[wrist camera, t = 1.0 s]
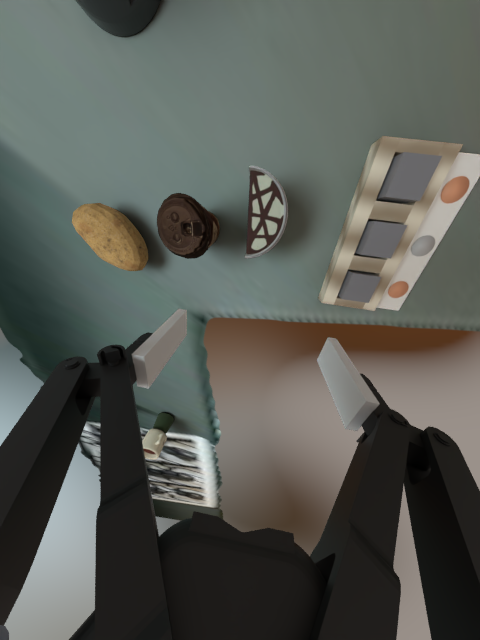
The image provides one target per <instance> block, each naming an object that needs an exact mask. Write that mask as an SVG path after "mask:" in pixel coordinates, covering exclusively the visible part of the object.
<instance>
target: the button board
mask: <svg viewBox="0 0 480 640" xmlns="http://www.w3.org/2000/svg"><path fill="white" fill-rule="evenodd" d="M462 146H463V144H454V143H445V142H435V141H425V140H416V139H406V138H396V137H387V136H382V137H381V138H380V139H379V140H377V141H376V142H375V143H373V144H372V145H371V148H370V151H369V153H368V156H367V159H366V162H365V165H364V168H363V171H362V173H361V176H360V179H359V182H358V185H357V188H356V191H355V194H354V196H353V199H352V202H351V205H350V208H349V211H348V214H347V216H346V219H345V222H344V225H343V228H342V231H341V234H340V237H339V239H338V242H337V245H336V248H335V251H334V254H333V257H332V259H331V262H330V265H329V268H328V271H327V274H326V277H325V279H324V282H323V285H322V288H321V291H320V294H319V297H318V299H319V300H320V301H321V302H322V303H326V304H333V305H339V306H346V307H353V308H360V309H366V310H373V311H375V309H376V307H377V305H378V303H379V301H380V300H381V298H382V296H383V294H384V292H385V290H386V288H387V286H388V285H389V283H390V281H391V279H392V277H393V275H394V273H395V271H396V270H397V268H398V266H399V264H400V262H401V260H402V258H403V256H404V255H405V253H406V251H407V249H408V247H409V245H410V243H411V241H412V240H413V238H414V236H415V234H416V232H417V230H418V228H419V226H420V225H421V223H422V221H423V219H424V217H425V215H426V213H427V211H428V209H429V208H430V206H431V204H432V202H433V200H434V198H435V196H436V194H437V193H438V191H439V189H440V187H441V185H442V183H443V181H444V179H445V178H446V176H447V174H448V172H449V170H450V168H451V166H452V164H453V163H454V161H455V159H456V157H457V155H458V153H459V151H460V149H461V148H462ZM403 152H409V153H418V154H428V155H437V156H442V158H441V160H440V162H439V164H438V166H437V168H436V170H435V172H434V174H433V176H432V178H431V180H430V182H429V184H428V186H427V188H426V190H425V192H424V194H423V196H422V198H421V200H420V201H416V202H410V203H402V204H398V203H389V202H381V201H376V199H377V196H378V194H379V191H380V189H381V186H382V184H383V181H384V179H385V176H386V174H387V171H388V169H389V166H390V164H391V161H392V159H393V158H394V157H395V156H397V155H399V154H401V153H403ZM368 220H370V221H378V222H386V223H394V224H402V225H408V226H407V227H406V229H405V231H404V233H403V235H402V237H401V239H400V241H399V243H398V245H397V247H396V249H395V251H394V253H393V255H392V257H391V259H390V258H382V257H369V256H362V255H355V254H354V253H355V251H356V248H357V246H358V243H359V241H360V238H361V236H362V233H363V231H364V228H365V226H366V223H367V221H368ZM348 269H351V270H358V271H366V272H370V273H372V274H375V275H377V276H380V277H381V279H380V281H379V283H378V285H377V287H376V289H375V291H374V293H373V295H372V297H371V299H370V301H369V303H365V302H358V301H351V300H344V299H341V298H340V297H339V296H338V293H339V291H340V288H341V286H342V283H343V281H344V278H345V276H346V273H347V271H348Z"/></svg>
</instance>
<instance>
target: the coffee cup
mask: <svg viewBox="0 0 480 640" xmlns="http://www.w3.org/2000/svg"><path fill="white" fill-rule="evenodd" d="M157 226H158V232H159V236H160V238H161V240H162V242H163V243H164V245H165V246H166V247H167V248H168V249H169V250H170V251H171V252H172V253H174V254H176V255H178V256H181V257H185V258H188V259H189V258H197V257H200V256H201V255H203V254H204V253H205V252H206V250H208V248H209V247H210V246H211V245H212V244H213V243H214V242H215V241H216V240H217V238H218V236H219V229H220V226H219V222H218V219H217V218H216V217H215V216H214V214H213V213H210V212H209V211H207V210H206V209H205V208H204V207H203V206H201V204H199V203H198V202H197V201H196V200H195V199H193V198H192V197H190V196H188V195H186V194H182V193H176V194H172V195H170V196H169V197H168V198H167V199H165V200H164V201H163V203H162V205H161V207H160V209H159V211H158V215H157Z"/></svg>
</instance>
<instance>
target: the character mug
mask: <svg viewBox="0 0 480 640" xmlns="http://www.w3.org/2000/svg"><path fill="white" fill-rule="evenodd" d="M173 422H174V418H173V417H172V416H171V415H169V414H166V413H160V414H159V415H158V417H157V419H156V422H155V424H154V427H153V429H150V430H149V431H148V433H147V434H146V436H145V438H144V439H143V441H142V444H143V449H144V455H145V458H147V459H157V458H158V457H159V455H160V452H161V451H162V448H163V445H164V443H165V442H166V440H167V436H166V433H167V431H168V430H169V428H170V427H171V425H172V423H173Z"/></svg>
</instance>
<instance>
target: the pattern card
mask: <svg viewBox="0 0 480 640" xmlns="http://www.w3.org/2000/svg"><path fill="white" fill-rule="evenodd" d="M479 177H480V154H470V153H461V152H459V153H458V155H457V157H456V159H455V161H454V163H453V164H452V166H451V168H450V170H449V172H448V174H447V176H446V178H445V179H444V181H443V183H442V185H441V187H440V189H439V191H438V193H437V194H436V196H435V198H434V200H433V202H432V204H431V206H430V208H429V209H428V211H427V213H426V215H425V217H424V219H423V221H422V223H421V225H420V226H419V228H418V230H417V232H416V234H415V236H414V238H413V240H412V241H411V243H410V245H409V247H408V249H407V251H406V253H405V255H404V256H403V258H402V260H401V262H400V264H399V266H398V268H397V270H396V271H395V273H394V275H393V277H392V279H391V281H390V283H389V285H388V286H387V288H386V290H385V292H384V294H383V296H382V298H381V300H380V301H379V303H378V305H377V308H384V309H390V310H397V311H399V309H400V307H401V306H402V304H403V302H404V301H405V299H406V297H407V296H408V294H409V292H410V291H411V289H412V287H413V286H414V284H415V283H416V281H417V279H418V278H419V276H420V274H421V273H422V271H423V269H424V268H425V266H426V264H427V263H428V261H429V259H430V258H431V256H432V254H433V253H434V251H435V249H436V248H437V246H438V244H439V243H440V241H441V240H442V238H443V236H444V235H445V233H446V231H447V230H448V228H449V226H450V225H451V223H452V221H453V220H454V218H455V216H456V215H457V213H458V211H459V210H460V208H461V206H462V205H463V203H464V201H465V200H466V198H467V197H468V195H469V193H470V192H471V190H472V188H473V187H474V185H475V183H476V182H477V180H478V178H479Z"/></svg>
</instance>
